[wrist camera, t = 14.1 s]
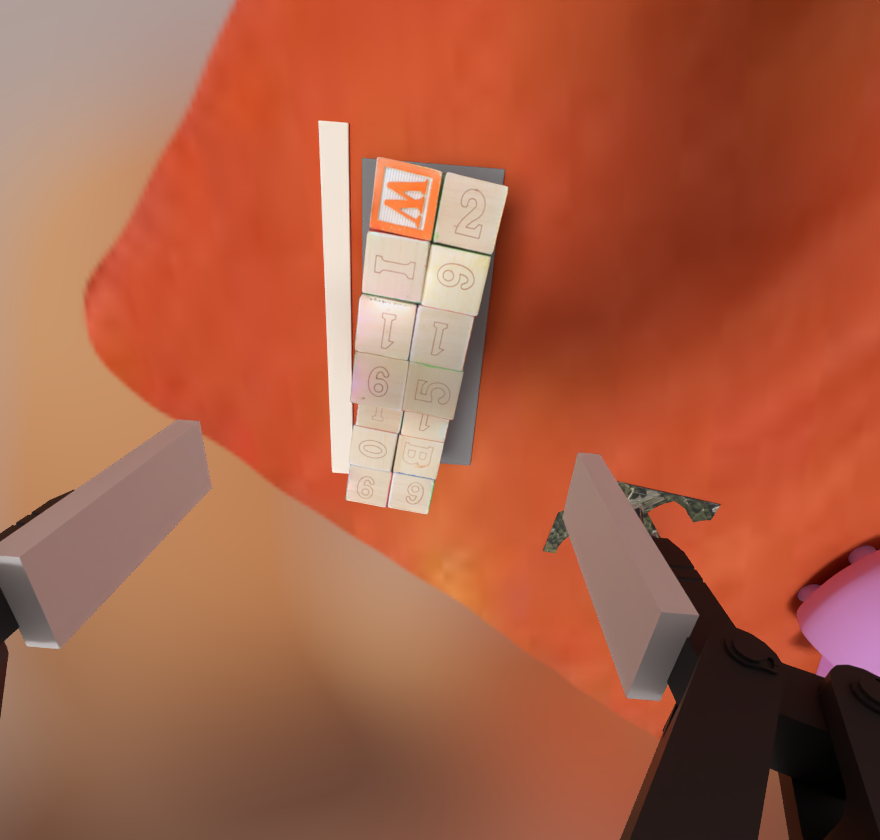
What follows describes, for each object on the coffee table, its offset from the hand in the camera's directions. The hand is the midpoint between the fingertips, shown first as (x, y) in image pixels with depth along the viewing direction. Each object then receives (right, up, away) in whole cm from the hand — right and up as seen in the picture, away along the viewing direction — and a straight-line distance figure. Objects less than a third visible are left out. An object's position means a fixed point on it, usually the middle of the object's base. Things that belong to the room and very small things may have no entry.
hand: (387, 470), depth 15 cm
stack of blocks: (0, +9, +20) cm, 22 cm away
